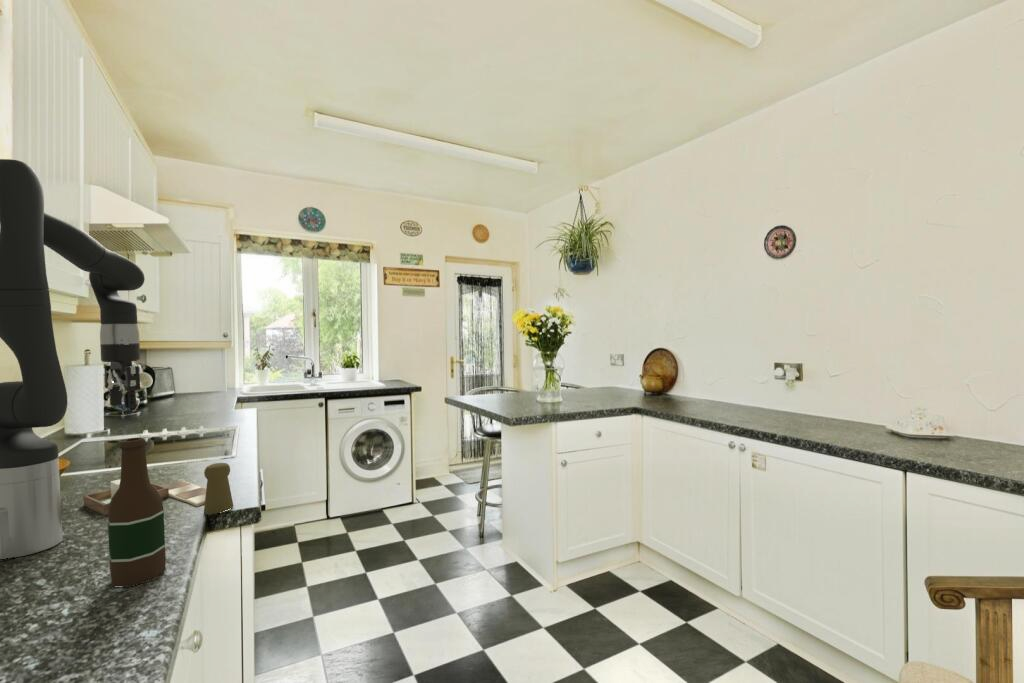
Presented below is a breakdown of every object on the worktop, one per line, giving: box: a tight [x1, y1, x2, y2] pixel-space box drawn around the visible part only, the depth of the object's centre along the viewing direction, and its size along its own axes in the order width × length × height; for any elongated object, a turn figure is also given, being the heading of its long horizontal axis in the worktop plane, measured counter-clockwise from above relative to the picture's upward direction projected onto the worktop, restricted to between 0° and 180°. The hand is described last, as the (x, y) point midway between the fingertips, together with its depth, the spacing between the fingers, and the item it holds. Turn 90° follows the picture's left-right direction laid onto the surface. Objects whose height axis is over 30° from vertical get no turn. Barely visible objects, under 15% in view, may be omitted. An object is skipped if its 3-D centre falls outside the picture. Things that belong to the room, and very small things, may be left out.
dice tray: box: [82, 481, 170, 516], centre depth 117 cm, size 13×13×2 cm
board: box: [162, 480, 207, 507], centre depth 122 cm, size 7×24×1 cm, turn 59°
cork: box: [203, 462, 234, 516], centre depth 110 cm, size 6×6×11 cm
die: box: [110, 478, 121, 499], centre depth 117 cm, size 5×5×5 cm
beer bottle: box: [107, 437, 167, 588], centre depth 80 cm, size 8×8×24 cm
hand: (123, 406), depth 116 cm, fingers open, 8 cm apart
